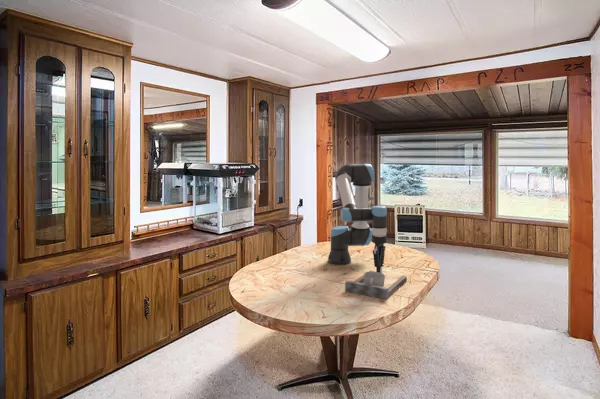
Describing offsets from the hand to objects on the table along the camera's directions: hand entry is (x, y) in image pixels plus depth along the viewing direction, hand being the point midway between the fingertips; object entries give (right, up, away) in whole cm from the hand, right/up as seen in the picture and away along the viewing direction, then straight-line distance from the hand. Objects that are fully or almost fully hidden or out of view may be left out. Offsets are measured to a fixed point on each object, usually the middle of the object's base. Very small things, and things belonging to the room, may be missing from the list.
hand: (379, 278), depth 196 cm
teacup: (-5, -4, -7) cm, 10 cm away
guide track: (-1, -4, -1) cm, 4 cm away
